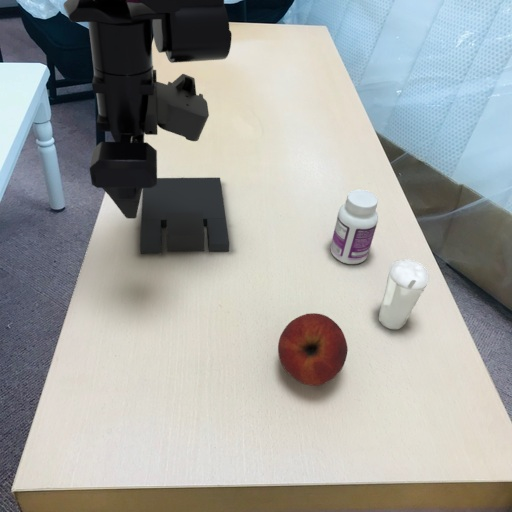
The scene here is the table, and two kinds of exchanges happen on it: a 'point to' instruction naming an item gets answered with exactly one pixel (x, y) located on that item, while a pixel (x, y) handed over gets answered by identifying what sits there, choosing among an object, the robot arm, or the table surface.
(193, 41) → the robot arm
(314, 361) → the apple
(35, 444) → the table surface
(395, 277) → the milkshake
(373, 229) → the pill bottle
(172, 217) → the black block
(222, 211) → the base pad
